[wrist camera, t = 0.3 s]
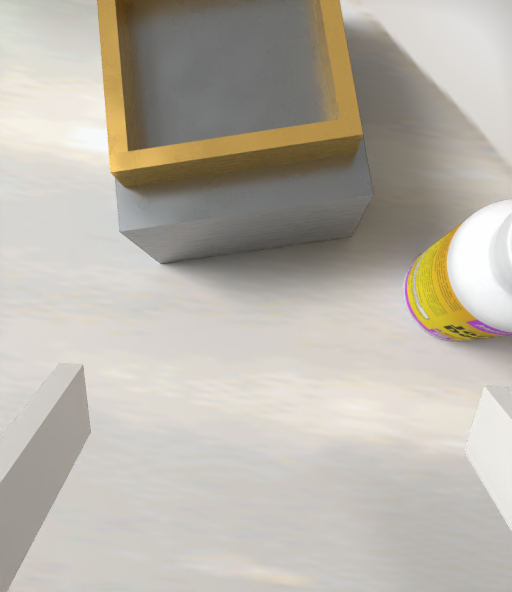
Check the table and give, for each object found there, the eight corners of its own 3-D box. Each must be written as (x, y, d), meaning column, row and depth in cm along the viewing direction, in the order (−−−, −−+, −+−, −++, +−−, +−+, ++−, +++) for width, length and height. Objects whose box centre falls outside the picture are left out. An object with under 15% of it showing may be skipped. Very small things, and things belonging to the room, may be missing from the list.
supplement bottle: (407, 346, 30) (496, 335, 17) (393, 252, 31) (468, 177, 18) (507, 336, 30) (672, 318, 17) (490, 242, 31) (634, 158, 18)
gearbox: (351, 236, 31) (381, 179, 22) (160, 263, 32) (104, 219, 22) (309, -18, 35) (318, -168, 25) (136, 12, 35) (78, -124, 25)
